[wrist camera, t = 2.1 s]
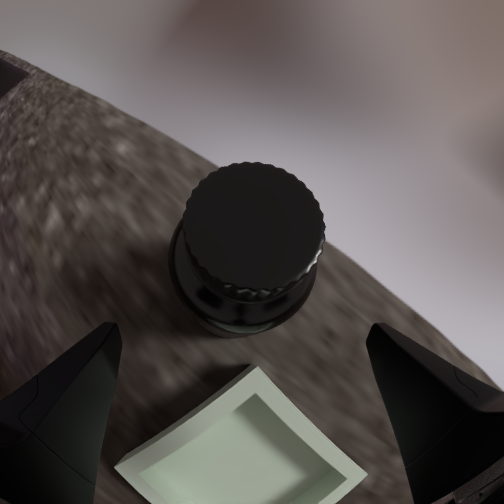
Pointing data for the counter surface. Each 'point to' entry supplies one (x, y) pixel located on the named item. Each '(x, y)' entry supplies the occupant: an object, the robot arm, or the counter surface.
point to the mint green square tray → (241, 453)
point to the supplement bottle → (246, 249)
